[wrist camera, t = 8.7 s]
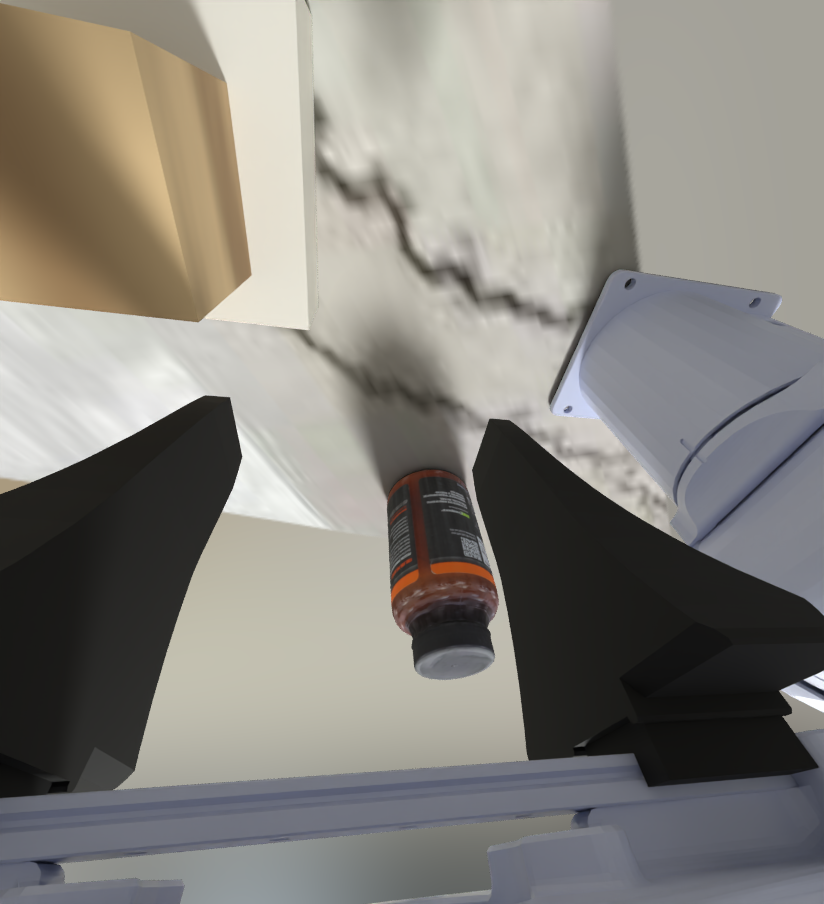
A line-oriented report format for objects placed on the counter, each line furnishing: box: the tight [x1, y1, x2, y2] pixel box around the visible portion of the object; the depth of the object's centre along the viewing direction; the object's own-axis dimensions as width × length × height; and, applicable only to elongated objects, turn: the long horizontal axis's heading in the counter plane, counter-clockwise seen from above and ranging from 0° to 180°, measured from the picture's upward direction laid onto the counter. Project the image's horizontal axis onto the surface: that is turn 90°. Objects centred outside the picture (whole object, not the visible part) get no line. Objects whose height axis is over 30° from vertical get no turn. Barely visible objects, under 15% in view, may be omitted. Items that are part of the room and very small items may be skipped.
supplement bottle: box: [387, 469, 499, 680], centre depth 21 cm, size 6×6×11 cm
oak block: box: [0, 3, 252, 322], centre depth 9 cm, size 5×5×5 cm
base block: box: [0, 0, 318, 330], centre depth 12 cm, size 9×9×3 cm
